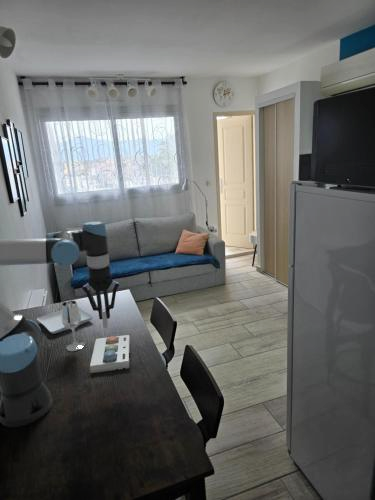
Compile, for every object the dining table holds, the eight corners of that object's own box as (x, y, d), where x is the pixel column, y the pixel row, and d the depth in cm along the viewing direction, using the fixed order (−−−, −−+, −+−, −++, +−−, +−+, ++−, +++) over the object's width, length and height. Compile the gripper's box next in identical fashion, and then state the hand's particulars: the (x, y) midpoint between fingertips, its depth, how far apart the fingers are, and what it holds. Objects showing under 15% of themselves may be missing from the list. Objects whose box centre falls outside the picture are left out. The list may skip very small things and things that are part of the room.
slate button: (115, 362, 122) (115, 356, 121) (103, 364, 121) (103, 357, 121) (116, 356, 126) (115, 349, 125) (104, 357, 125) (104, 351, 125)
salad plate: (36, 324, 163) (35, 317, 162) (77, 310, 176) (76, 304, 175) (52, 338, 147) (50, 331, 146) (95, 322, 161) (94, 316, 160)
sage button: (117, 355, 128) (116, 349, 128) (105, 357, 128) (104, 350, 127) (117, 349, 133) (116, 343, 132) (106, 351, 132) (105, 344, 131)
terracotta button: (117, 346, 135) (117, 340, 134) (107, 348, 134) (106, 342, 133) (118, 341, 139) (117, 335, 138) (107, 342, 138) (107, 336, 138)
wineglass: (77, 352, 134) (70, 308, 129) (62, 350, 137) (54, 306, 132) (88, 343, 141) (82, 300, 136) (73, 340, 144) (67, 298, 139)
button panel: (129, 367, 122) (128, 360, 121) (90, 373, 120) (89, 365, 119) (129, 341, 141) (129, 334, 140) (96, 345, 139) (96, 338, 138)
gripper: (117, 261, 119) (123, 319, 125) (81, 264, 117) (89, 323, 123) (117, 267, 112) (123, 329, 118) (78, 270, 110) (86, 333, 116)
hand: (105, 326), depth 120 cm, fingers closed
